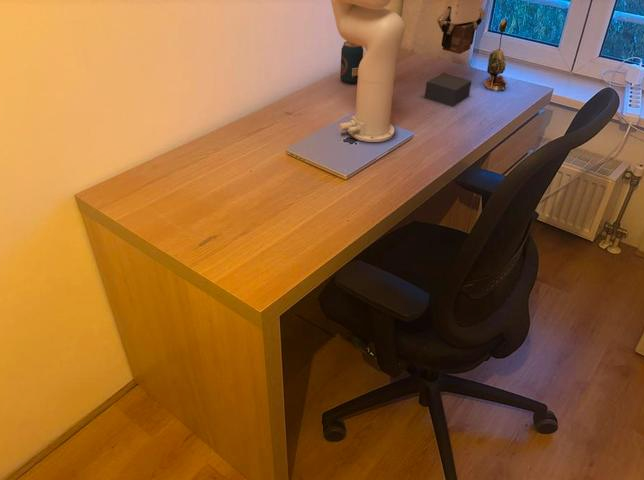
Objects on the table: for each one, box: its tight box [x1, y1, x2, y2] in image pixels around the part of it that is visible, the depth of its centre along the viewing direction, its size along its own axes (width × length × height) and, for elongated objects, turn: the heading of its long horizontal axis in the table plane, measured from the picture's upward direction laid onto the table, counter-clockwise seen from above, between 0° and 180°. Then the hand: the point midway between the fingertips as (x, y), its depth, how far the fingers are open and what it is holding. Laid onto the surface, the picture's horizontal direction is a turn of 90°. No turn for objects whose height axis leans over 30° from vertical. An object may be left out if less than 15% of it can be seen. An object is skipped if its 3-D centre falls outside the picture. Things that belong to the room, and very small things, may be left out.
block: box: [424, 72, 472, 107], centre depth 165 cm, size 10×10×5 cm
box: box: [442, 23, 474, 55], centre depth 155 cm, size 6×6×7 cm
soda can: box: [339, 40, 364, 86], centre depth 171 cm, size 7×7×12 cm
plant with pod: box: [482, 18, 508, 92], centre depth 167 cm, size 8×11×20 cm
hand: (456, 44), depth 157 cm, fingers closed on box, 7 cm apart
